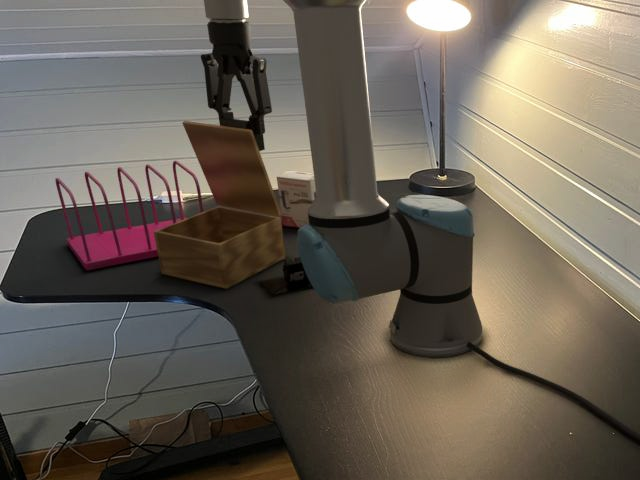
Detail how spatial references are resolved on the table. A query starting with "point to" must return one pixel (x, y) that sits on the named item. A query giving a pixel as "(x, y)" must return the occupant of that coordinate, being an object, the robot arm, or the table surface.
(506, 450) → the table surface
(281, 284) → the black angular piece
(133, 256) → the file sorter
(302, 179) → the ink box
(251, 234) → the chest
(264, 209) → the chest lid
